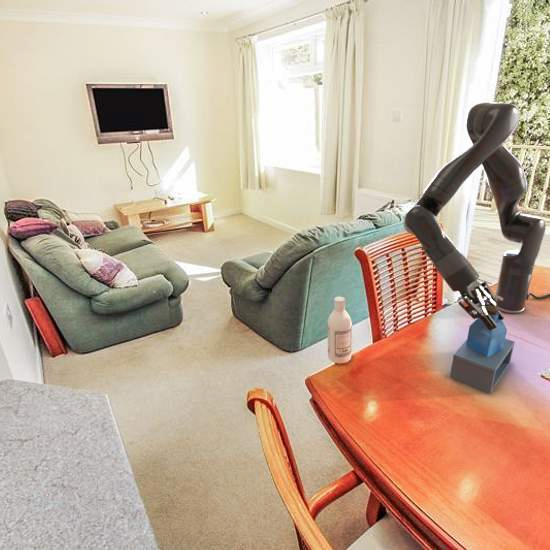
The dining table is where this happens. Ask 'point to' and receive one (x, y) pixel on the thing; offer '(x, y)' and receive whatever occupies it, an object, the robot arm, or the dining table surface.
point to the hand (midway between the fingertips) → (497, 323)
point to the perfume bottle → (487, 334)
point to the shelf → (481, 366)
